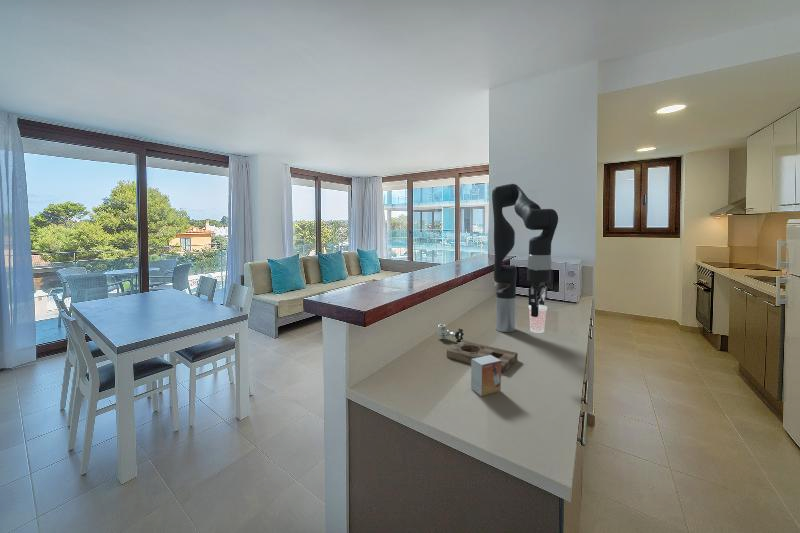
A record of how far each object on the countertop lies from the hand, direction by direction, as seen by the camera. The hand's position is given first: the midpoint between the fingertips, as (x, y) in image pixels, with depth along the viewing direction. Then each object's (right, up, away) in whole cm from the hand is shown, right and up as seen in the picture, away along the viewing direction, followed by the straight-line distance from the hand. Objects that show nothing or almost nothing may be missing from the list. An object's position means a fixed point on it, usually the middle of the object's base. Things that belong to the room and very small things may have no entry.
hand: (537, 314), depth 112 cm
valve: (-25, -18, +38) cm, 49 cm away
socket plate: (-16, -20, +16) cm, 30 cm away
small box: (-21, -24, -8) cm, 33 cm away
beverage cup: (0, -6, +1) cm, 6 cm away
